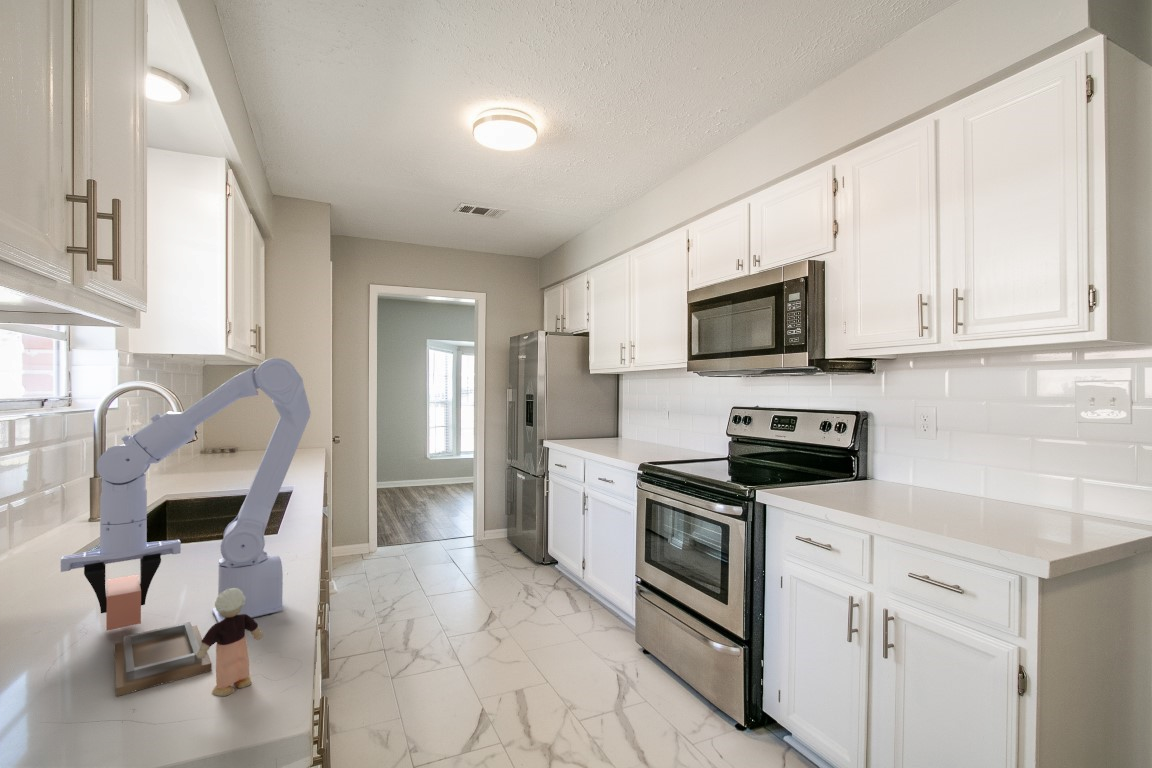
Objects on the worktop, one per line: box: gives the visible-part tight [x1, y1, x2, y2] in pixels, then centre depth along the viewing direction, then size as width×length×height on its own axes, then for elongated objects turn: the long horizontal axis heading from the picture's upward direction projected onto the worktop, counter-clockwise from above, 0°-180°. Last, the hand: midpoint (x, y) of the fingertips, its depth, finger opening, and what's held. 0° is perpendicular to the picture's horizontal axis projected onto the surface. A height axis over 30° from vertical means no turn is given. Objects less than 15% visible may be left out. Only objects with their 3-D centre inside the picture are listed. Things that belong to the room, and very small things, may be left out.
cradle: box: [114, 621, 213, 697], centre depth 78 cm, size 10×16×2 cm, turn 40°
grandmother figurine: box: [196, 588, 264, 697], centre depth 71 cm, size 8×4×13 cm, turn 159°
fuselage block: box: [105, 574, 142, 631], centre depth 87 cm, size 4×10×5 cm, turn 41°
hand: (123, 607), depth 87 cm, fingers closed on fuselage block, 4 cm apart
